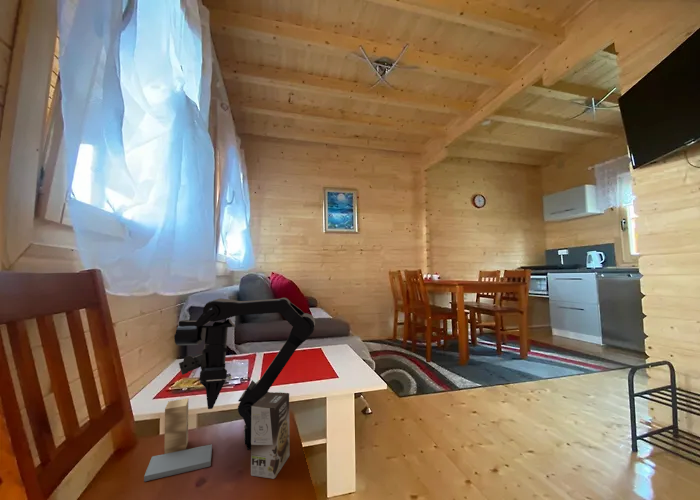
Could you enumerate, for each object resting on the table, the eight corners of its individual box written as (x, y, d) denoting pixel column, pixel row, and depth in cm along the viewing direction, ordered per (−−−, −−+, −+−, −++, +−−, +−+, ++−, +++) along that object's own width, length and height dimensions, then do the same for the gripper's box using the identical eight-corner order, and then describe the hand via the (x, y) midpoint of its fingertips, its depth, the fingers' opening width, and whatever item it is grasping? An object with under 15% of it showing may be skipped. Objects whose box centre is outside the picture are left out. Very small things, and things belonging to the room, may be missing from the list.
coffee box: (275, 479, 72) (275, 408, 72) (249, 476, 73) (249, 406, 74) (290, 455, 81) (290, 392, 81) (267, 453, 82) (267, 390, 83)
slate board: (212, 448, 84) (212, 444, 84) (210, 466, 77) (210, 461, 77) (151, 461, 79) (152, 456, 79) (144, 481, 72) (144, 476, 72)
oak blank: (188, 441, 88) (188, 398, 88) (185, 451, 83) (186, 405, 84) (167, 445, 86) (168, 401, 87) (164, 455, 81) (164, 409, 82)
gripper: (185, 345, 92) (179, 402, 88) (180, 345, 76) (171, 416, 71) (226, 343, 96) (221, 398, 92) (229, 344, 80) (223, 411, 76)
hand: (210, 405), depth 83 cm, fingers open, 9 cm apart
